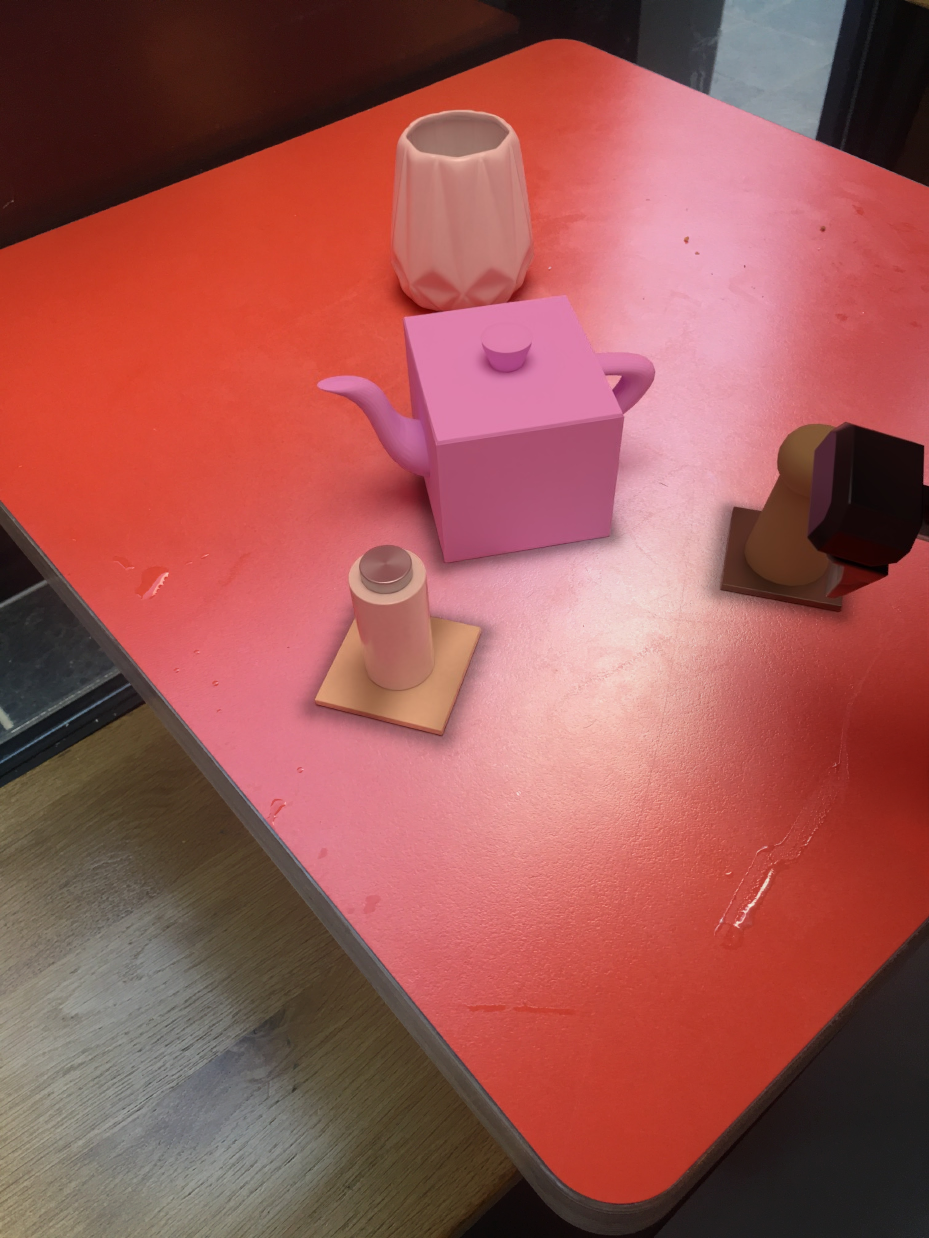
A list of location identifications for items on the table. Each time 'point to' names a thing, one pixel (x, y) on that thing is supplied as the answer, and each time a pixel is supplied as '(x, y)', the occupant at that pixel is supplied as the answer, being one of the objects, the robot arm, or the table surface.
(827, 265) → the table surface
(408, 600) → the salt shaker
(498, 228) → the vase
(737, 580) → the dark mat
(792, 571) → the cork
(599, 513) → the teapot
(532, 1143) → the table surface
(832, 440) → the robot arm
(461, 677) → the pale mat
